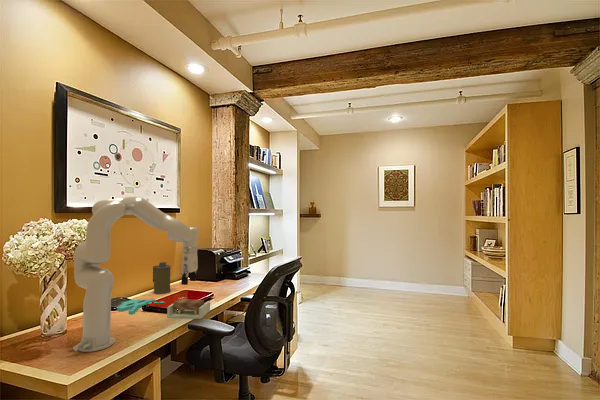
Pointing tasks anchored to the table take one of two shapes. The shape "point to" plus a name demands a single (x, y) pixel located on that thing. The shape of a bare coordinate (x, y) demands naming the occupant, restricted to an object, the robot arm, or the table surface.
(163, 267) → the canister
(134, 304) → the alien figure
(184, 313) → the peg frame
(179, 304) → the brown wooden block
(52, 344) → the table surface
